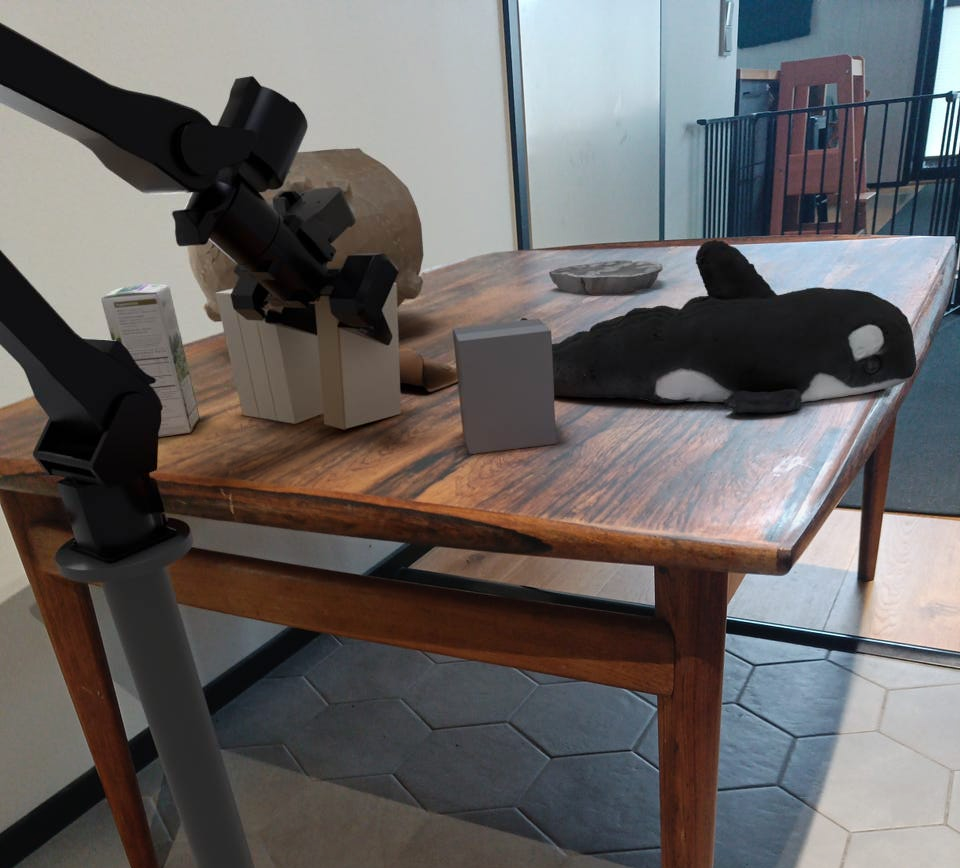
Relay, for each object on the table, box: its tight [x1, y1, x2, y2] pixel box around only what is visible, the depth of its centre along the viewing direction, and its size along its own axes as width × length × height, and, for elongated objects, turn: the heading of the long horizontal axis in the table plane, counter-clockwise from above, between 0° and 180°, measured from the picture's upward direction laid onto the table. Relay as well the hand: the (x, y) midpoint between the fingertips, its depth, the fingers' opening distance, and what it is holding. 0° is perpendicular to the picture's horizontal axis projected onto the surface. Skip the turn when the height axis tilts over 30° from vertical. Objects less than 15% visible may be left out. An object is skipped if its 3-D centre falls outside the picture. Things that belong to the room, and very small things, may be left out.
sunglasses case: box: [399, 347, 458, 393], centre depth 106 cm, size 18×7×7 cm, turn 52°
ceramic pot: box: [186, 147, 424, 323], centre depth 129 cm, size 33×34×25 cm
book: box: [315, 283, 402, 431], centre depth 89 cm, size 8×3×13 cm, turn 139°
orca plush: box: [519, 239, 917, 414], centre depth 90 cm, size 21×41×14 cm, turn 61°
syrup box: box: [100, 283, 201, 438], centre depth 93 cm, size 6×6×14 cm
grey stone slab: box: [548, 260, 664, 296], centre depth 151 cm, size 20×17×3 cm
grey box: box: [452, 318, 557, 455], centre depth 80 cm, size 8×6×10 cm
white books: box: [216, 289, 324, 425], centre depth 96 cm, size 8×9×13 cm
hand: (365, 339), depth 90 cm, fingers open, 7 cm apart
